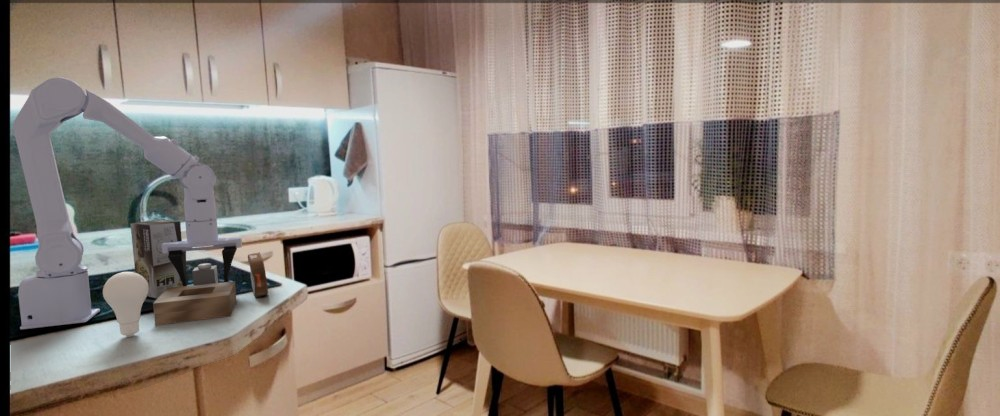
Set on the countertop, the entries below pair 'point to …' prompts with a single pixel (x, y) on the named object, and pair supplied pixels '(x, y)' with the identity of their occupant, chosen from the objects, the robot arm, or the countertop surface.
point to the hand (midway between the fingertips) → (206, 283)
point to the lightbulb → (126, 299)
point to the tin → (258, 275)
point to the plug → (205, 274)
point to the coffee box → (155, 254)
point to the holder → (195, 303)
